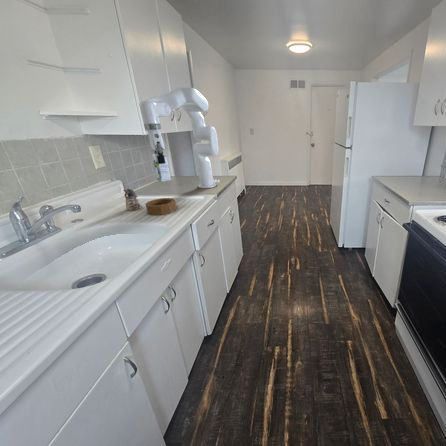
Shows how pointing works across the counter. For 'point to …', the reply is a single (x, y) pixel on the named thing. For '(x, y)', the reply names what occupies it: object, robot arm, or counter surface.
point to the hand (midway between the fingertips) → (160, 162)
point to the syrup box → (161, 169)
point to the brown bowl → (161, 206)
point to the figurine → (131, 200)
